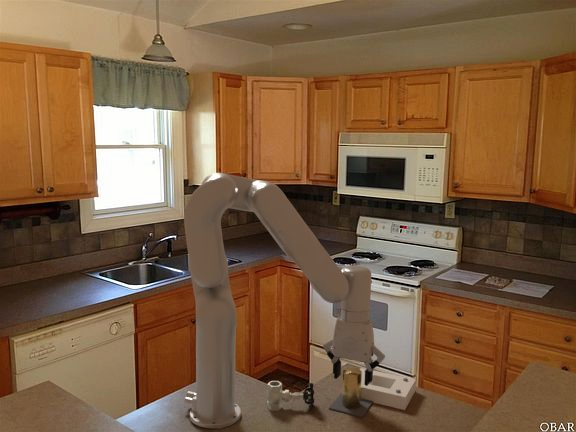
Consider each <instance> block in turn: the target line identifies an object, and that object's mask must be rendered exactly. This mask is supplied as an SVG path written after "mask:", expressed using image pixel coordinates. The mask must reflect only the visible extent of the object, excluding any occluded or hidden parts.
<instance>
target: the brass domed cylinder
mask: <svg viewBox="0 0 576 432" xmlns="http://www.w3.org/2000/svg"><path fill="white" fill-rule="evenodd" d="M361 380H362V371H361V370H359V368H357V367H346V368H344V369H343V370H342V393H341V394H342V405H343V406H344V407H346V408H349V409H357V408H359V407H360V406H361Z"/></svg>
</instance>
